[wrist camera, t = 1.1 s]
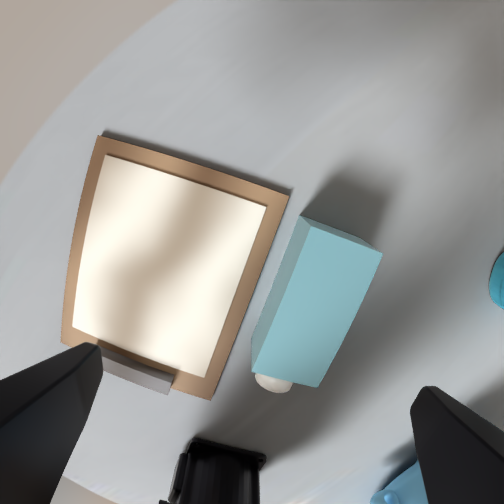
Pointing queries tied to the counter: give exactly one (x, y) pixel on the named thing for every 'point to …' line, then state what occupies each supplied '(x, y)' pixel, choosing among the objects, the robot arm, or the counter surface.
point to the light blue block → (311, 305)
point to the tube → (497, 282)
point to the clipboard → (164, 265)
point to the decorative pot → (403, 489)
